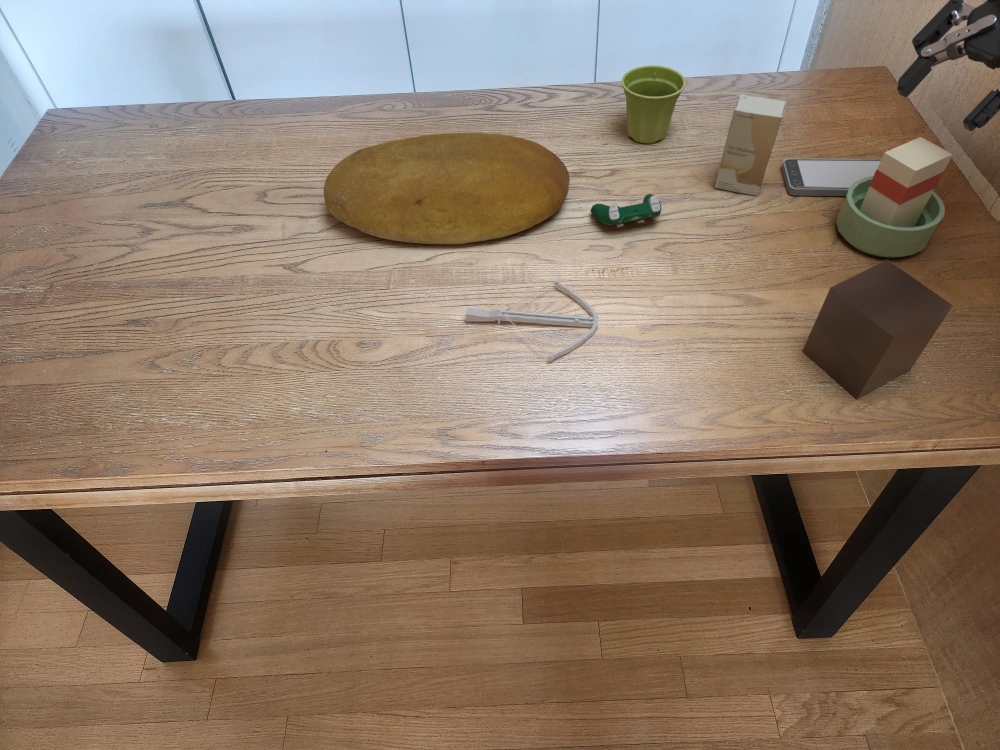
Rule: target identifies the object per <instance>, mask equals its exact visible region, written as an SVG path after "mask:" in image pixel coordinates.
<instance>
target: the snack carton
mask: <svg viewBox="0 0 1000 750" xmlns="http://www.w3.org/2000/svg"><path fill="white" fill-rule="evenodd" d="M953 154H954V153H953ZM953 154H952V153H951V152H950V151H947V150H946V149H944V148H942V147H940V146H939V145H937V144H935V143H933V142H931V141H929V140H927V139H925V138H924V137H922V136H919V137H917V138H914V139H912V140H910V141H907V142H905V143H903V144H901V145H899V146H897V147H894V148H892V149H889V150H887V151H884V153H883V154H882V156H881V158H880V159H881V161H880V164H879V166H878V168H877V169H876V171H875V174H874V176H873V178H872V181H871V183H870V185H869V186H870V187H869V189H868V191H867V194H866V196H865V198H864V201H863V203H862V205H861V207H860V210H859V211H860V212H861V213H863V214H864V215H866V216H867V217H869V218H870V219H872V220H875V221H877V222H880V223H882V224H886V225H890V226H895V227H910V228H912V227H915V225H916V223H917V221H918V219H919V217H920V215H921V214H922V212H923V210H924V208H925V206H926V204H927V202H928V200H929V198H930V196H931V195H932V193H933V191H934V190H935V189H937V186H938V185H939V183H940V180H941V179H942V177H943V175H944V173H945V170H946V168H947V166H948V164H949V162H950V161H951V158H952V157H953ZM934 192H935V191H934Z"/></svg>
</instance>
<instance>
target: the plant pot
mask: <svg viewBox="0 0 1000 750" xmlns="http://www.w3.org/2000/svg"><path fill="white" fill-rule="evenodd" d="M686 84H687V81H686V78H685V76H684V75H683V74H682V73H681V72H679V71H678V70H676V69H674V68H671V67H668V66H664V65H655V64H654V65H650V64H649V65H642V66H637V67H635V68H632V69H630V70H628V71H626V72H625V73H624V74H623V76H622V77H621V86H622V88H623V90H624V95H625V106H626V131H627V136H628V137H630V138H632V140H633V141H634V142H636V143H639V144H649V145H650V144H655V143H656V142H658V141H660V140H661V141H663V140H664V139H665V138H666V137H667V133H668V130H669V127H670V124H671V120H672V118H673V114H674V111H675V107H676V104H677V102H678V101H677V100H678V99H679V97H680V96H681V93H682V92H683V91H684V90H685V88H686V86H687V85H686Z"/></svg>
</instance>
